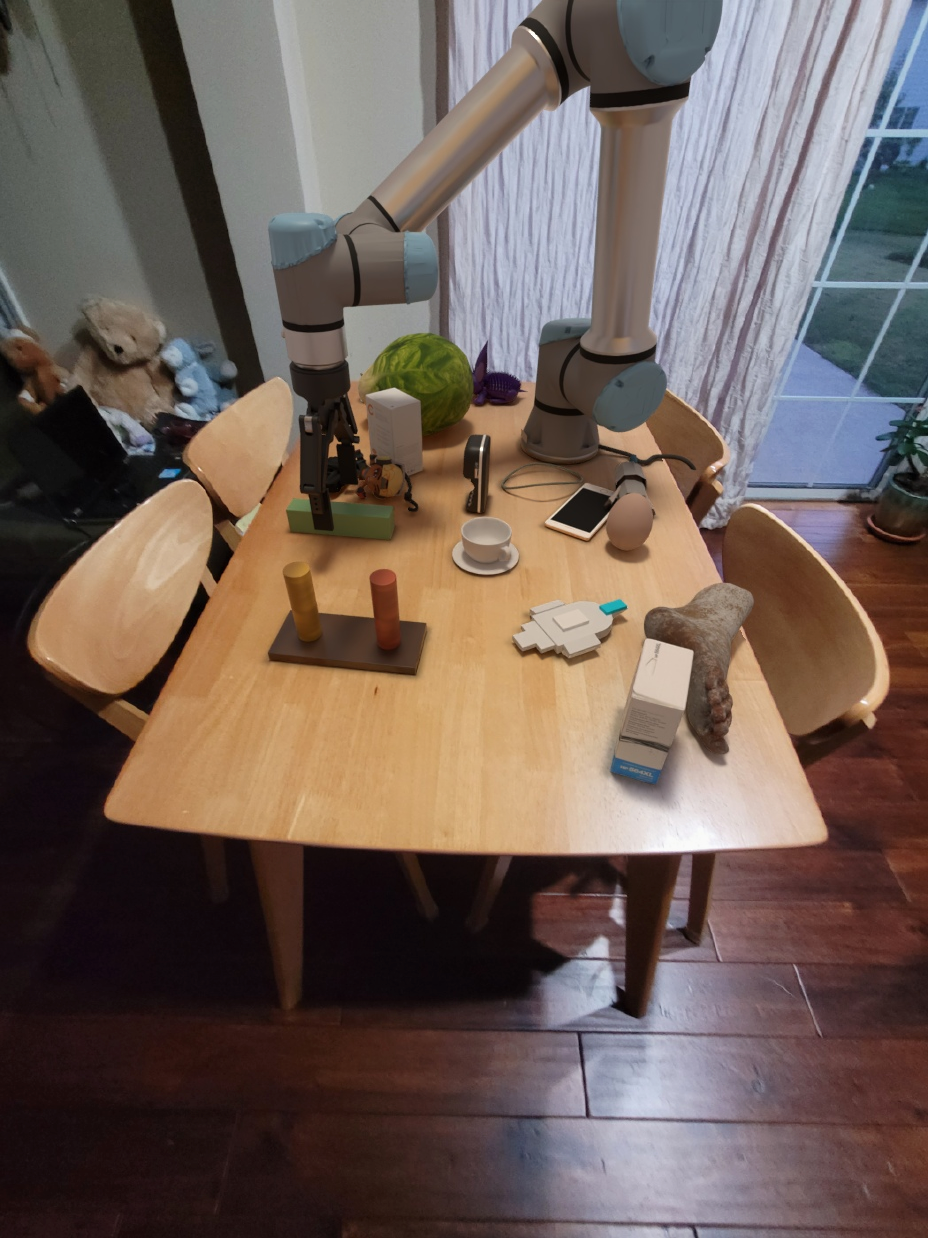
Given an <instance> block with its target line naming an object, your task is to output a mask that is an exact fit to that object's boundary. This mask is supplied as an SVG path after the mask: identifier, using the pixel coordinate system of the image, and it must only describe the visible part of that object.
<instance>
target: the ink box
mask: <svg viewBox="0 0 928 1238" xmlns="http://www.w3.org/2000/svg"><path fill="white" fill-rule="evenodd" d="M693 654H694V652H693V650H690V649H686V648H682V647H678V646H675V645H671V644H667V643H664V642H660V641H657V640H653V639H648V638H645V639H644V641H643V645H642V647H641V650H640V654H639V656H638V660H637V663H636V668H635V671H634V674H633V677H632V680H631V683H630V688H629V691H628V694H627V698H626V701H625V705H624V708H623V712H622V715H621V719H620V723H619V727H618V733H617V737H616V741H615V746H614V752H613V754H612V755H613V756H612V760H611V764H610V769H609V770H610V772H611V773H614V774H618V775H621V776H624V777H627V778H631V779H634V780H637V781H640V782H644V783H648V784H651V785H657V784H658V781H659V778H660V776H661V773H662V770H663V768H664V765H665V762H666V759H667V756H668V754H669V751H670V749H671V747H672V744H673V741H674V739H675V736H676V735H677V731H678V729H679V726H680V724H681V722H682V718H683V716H684V713H685V711H686V708H687V695H688V688H689V682H690V675H691V669H692V661H693Z"/></svg>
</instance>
